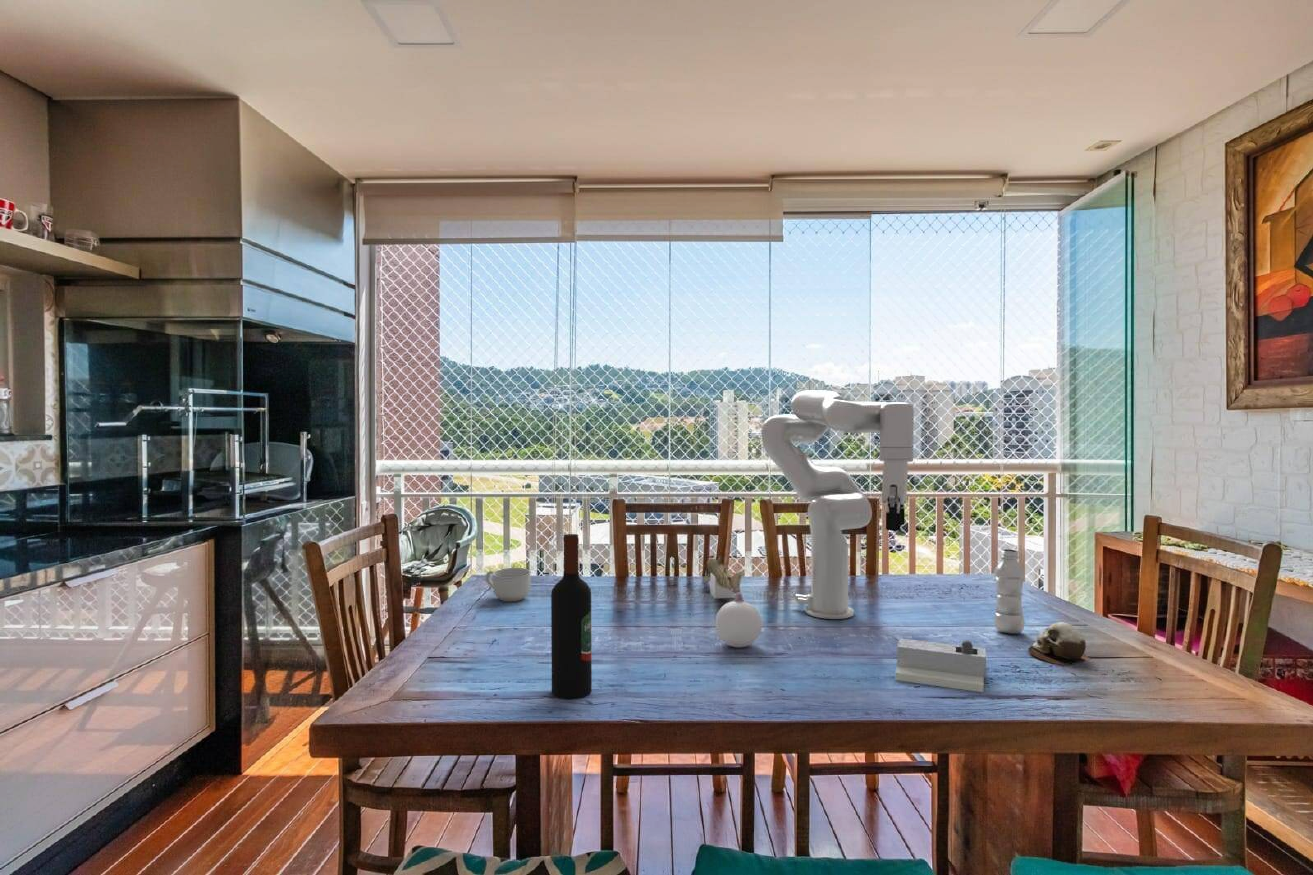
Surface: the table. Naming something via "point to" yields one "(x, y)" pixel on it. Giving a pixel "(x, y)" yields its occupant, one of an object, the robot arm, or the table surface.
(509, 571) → the teacup
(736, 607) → the ornament
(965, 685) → the board
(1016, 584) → the plastic bottle
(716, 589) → the wood carving
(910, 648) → the link plate
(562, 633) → the wine bottle
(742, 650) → the table surface
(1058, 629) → the skull
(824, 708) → the table surface
